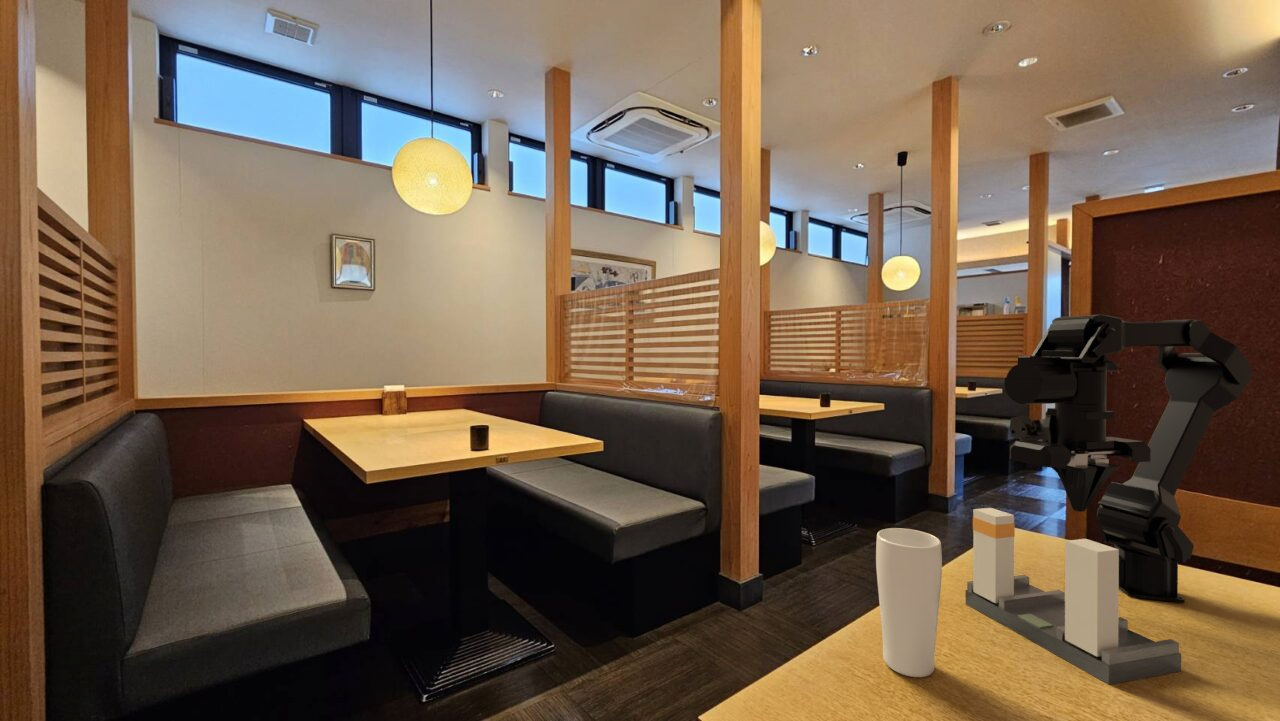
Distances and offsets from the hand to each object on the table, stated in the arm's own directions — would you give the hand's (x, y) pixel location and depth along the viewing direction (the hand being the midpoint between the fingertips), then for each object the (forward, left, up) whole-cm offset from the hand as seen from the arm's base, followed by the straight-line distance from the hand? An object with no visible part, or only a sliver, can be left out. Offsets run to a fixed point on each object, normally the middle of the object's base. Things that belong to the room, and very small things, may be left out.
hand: (1078, 510), depth 77 cm
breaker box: (+6, +11, -13) cm, 18 cm away
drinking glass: (+25, +25, -13) cm, 38 cm away
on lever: (+6, +19, -11) cm, 22 cm away
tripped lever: (+13, +8, -11) cm, 18 cm away
